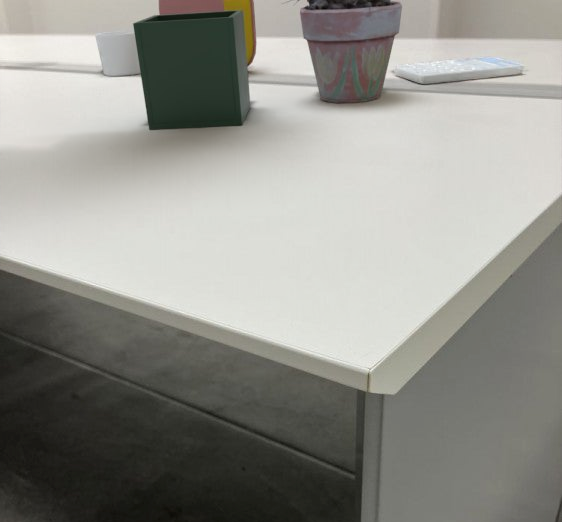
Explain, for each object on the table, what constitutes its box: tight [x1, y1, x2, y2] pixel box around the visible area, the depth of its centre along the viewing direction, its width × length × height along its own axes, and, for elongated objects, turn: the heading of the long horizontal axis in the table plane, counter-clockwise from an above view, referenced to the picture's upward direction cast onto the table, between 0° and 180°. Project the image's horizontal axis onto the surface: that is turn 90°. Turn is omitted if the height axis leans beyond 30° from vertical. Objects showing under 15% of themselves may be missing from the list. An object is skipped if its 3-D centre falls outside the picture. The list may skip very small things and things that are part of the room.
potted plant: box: [281, 0, 403, 104], centre depth 105 cm, size 18×20×25 cm
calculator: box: [394, 56, 525, 85], centre depth 124 cm, size 13×20×2 cm, turn 104°
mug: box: [94, 29, 141, 77], centre depth 151 cm, size 13×10×8 cm
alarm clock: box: [158, 0, 257, 68], centre depth 139 cm, size 18×11×19 cm, turn 49°
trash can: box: [132, 10, 251, 131], centre depth 100 cm, size 14×14×14 cm
